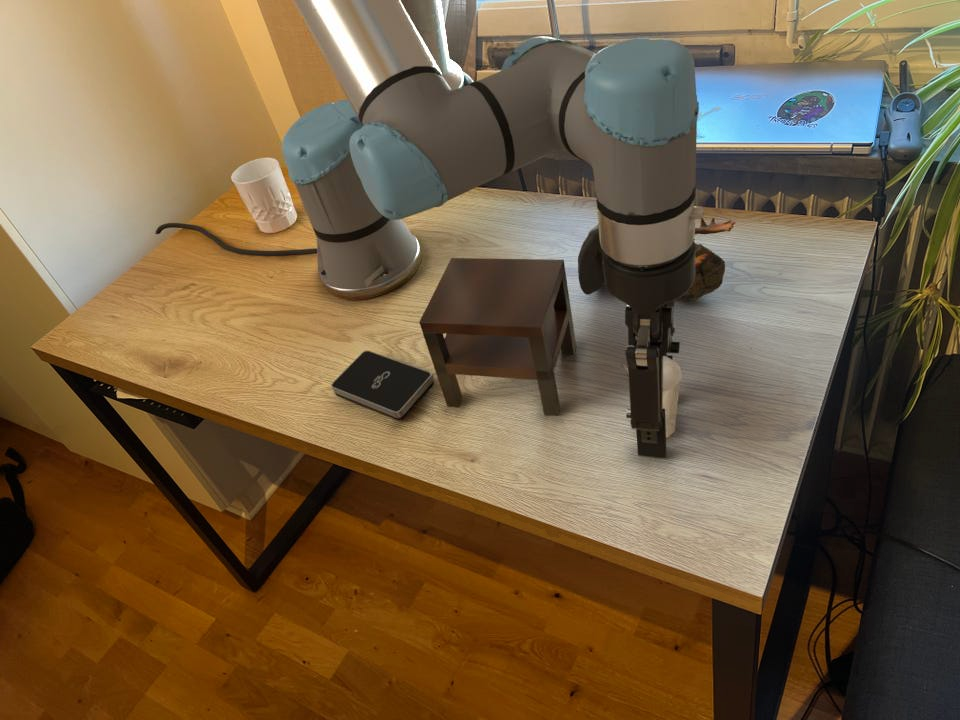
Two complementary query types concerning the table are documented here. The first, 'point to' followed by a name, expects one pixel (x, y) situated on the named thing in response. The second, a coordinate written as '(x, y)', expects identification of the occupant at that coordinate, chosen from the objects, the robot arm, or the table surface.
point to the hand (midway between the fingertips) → (656, 426)
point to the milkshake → (670, 392)
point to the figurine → (706, 263)
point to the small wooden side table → (500, 323)
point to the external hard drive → (383, 384)
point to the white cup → (265, 194)
